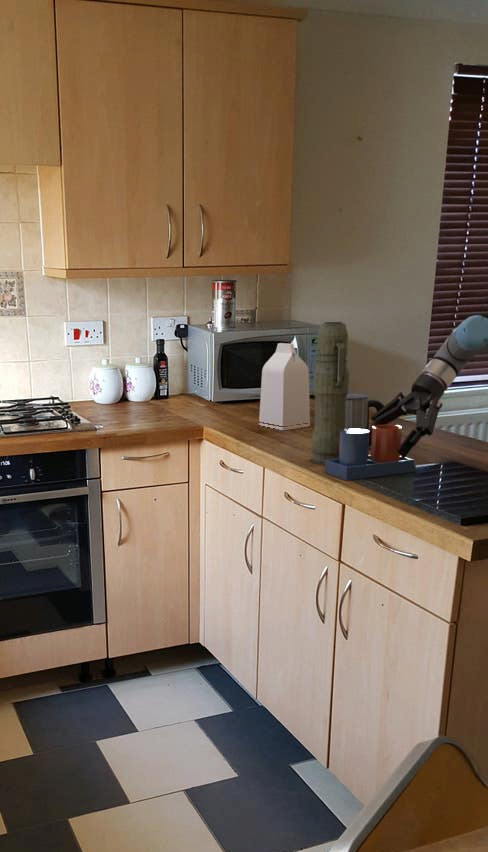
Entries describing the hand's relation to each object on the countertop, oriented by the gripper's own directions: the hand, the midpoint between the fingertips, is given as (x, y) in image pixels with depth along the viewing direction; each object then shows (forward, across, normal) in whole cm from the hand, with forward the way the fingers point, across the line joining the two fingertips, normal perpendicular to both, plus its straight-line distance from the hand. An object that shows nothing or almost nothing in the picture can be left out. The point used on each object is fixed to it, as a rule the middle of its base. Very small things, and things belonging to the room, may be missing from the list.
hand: (381, 449), depth 214 cm
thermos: (+6, +18, -2) cm, 19 cm away
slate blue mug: (+9, +1, +2) cm, 9 cm away
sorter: (+6, 0, -2) cm, 6 cm away
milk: (-10, +71, -18) cm, 73 cm away
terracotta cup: (+2, 0, -4) cm, 5 cm away
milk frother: (-6, +30, -14) cm, 34 cm away
